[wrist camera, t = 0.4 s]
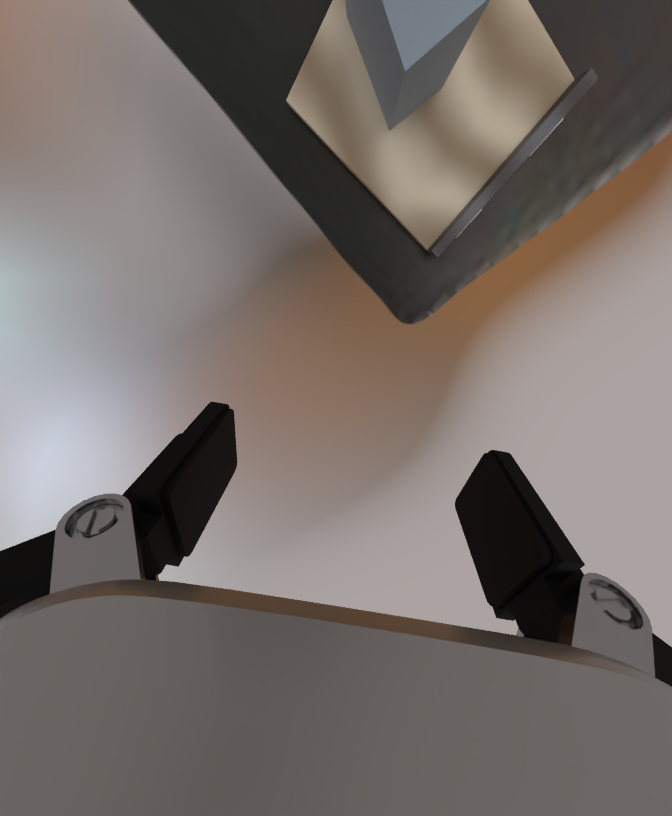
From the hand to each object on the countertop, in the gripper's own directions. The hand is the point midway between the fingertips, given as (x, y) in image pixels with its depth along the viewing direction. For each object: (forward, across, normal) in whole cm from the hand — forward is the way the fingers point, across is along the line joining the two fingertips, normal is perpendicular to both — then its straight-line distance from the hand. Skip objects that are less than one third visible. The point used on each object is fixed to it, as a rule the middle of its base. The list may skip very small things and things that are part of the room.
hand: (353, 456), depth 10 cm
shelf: (+30, -3, -18) cm, 35 cm away
